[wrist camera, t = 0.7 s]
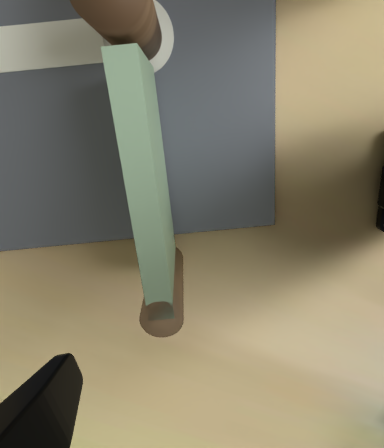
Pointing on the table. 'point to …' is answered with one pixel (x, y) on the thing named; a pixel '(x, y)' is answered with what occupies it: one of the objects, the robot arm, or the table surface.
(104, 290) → the table surface
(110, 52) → the hinged fence panel
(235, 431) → the table surface
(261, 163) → the card
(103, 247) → the table surface
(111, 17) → the fixed fence section
